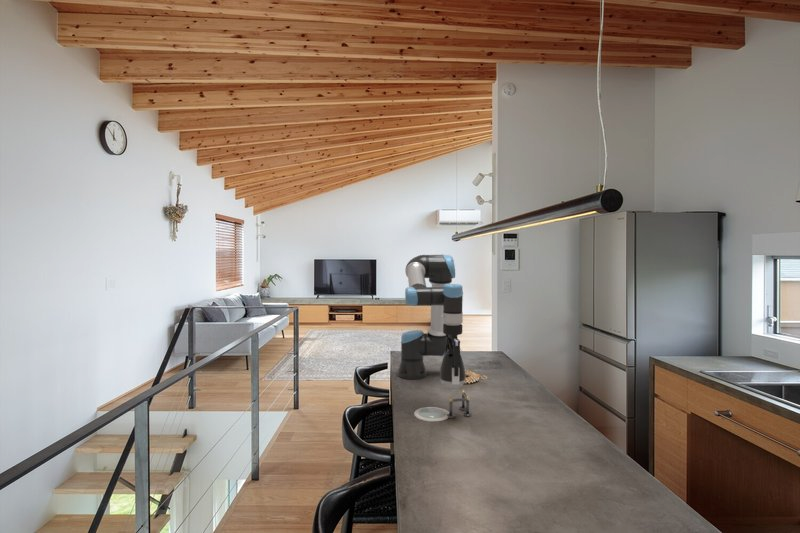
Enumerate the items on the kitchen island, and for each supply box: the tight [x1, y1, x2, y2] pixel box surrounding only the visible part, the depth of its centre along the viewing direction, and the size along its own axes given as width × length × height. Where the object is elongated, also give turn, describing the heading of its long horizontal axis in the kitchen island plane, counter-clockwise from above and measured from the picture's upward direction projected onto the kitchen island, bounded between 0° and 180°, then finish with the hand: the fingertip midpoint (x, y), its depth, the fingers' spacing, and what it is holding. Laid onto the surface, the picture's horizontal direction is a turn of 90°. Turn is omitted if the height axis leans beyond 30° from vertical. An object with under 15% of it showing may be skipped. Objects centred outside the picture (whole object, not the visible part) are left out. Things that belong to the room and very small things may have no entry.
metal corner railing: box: [447, 390, 473, 419], centre depth 171 cm, size 11×10×8 cm
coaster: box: [413, 406, 449, 423], centre depth 169 cm, size 14×14×1 cm
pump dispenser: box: [439, 349, 467, 390], centre depth 166 cm, size 10×10×15 cm
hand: (452, 379), depth 167 cm, fingers closed on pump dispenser, 10 cm apart
